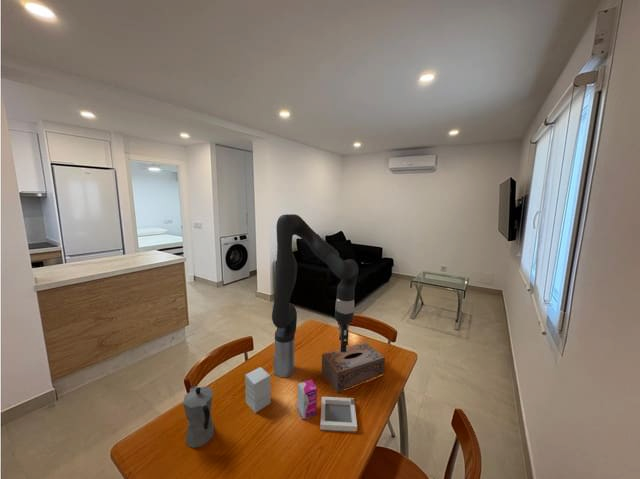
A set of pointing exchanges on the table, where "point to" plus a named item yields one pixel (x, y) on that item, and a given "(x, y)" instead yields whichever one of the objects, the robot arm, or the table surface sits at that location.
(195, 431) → the coffeepot
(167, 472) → the table surface
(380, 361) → the tissue box cover
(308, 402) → the supplement box
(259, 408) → the supplement box
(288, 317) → the robot arm
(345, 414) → the socket plate
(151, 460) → the table surface
